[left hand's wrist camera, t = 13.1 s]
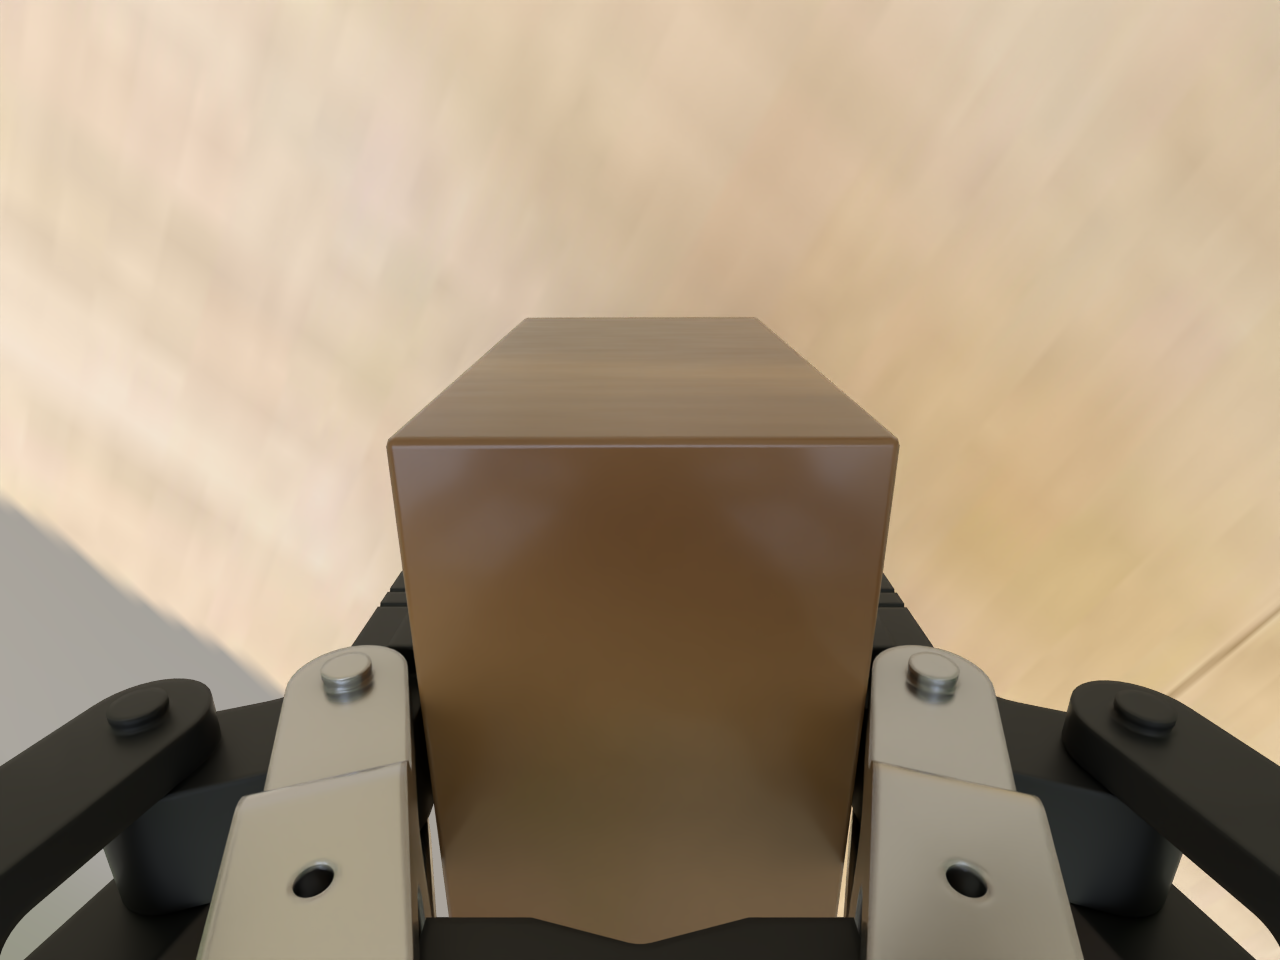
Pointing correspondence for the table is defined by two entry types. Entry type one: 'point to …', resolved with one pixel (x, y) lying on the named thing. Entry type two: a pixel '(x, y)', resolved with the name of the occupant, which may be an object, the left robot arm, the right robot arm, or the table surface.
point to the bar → (642, 622)
